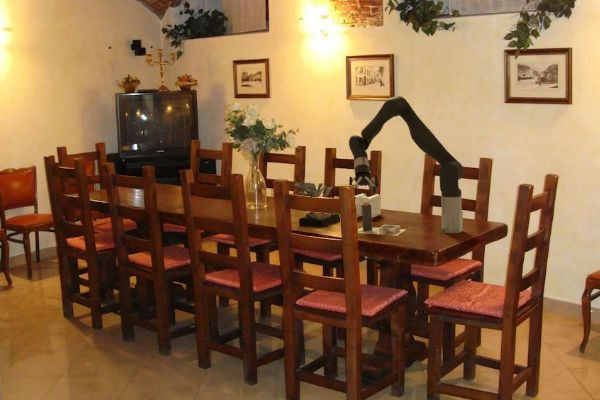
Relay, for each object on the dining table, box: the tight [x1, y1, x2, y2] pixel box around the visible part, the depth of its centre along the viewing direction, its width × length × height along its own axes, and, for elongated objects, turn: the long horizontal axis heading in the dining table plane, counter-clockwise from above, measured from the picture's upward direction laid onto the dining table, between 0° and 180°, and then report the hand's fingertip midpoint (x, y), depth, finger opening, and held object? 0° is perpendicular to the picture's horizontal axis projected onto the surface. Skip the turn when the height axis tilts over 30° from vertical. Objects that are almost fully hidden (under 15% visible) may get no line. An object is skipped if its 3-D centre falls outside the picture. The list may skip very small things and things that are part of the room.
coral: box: [293, 180, 341, 228], centre depth 385 cm, size 25×20×22 cm
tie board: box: [357, 224, 407, 237], centre depth 355 cm, size 22×14×4 cm, turn 63°
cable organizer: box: [354, 193, 382, 219], centre depth 398 cm, size 15×11×12 cm
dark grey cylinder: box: [361, 202, 373, 231], centre depth 357 cm, size 4×4×13 cm
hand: (364, 194), depth 364 cm, fingers open, 8 cm apart
